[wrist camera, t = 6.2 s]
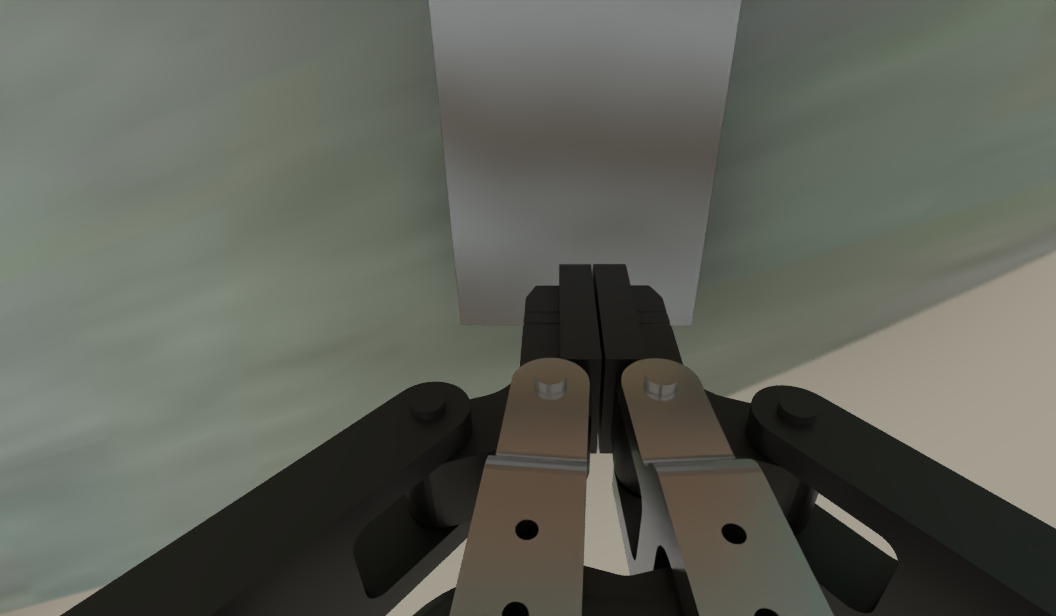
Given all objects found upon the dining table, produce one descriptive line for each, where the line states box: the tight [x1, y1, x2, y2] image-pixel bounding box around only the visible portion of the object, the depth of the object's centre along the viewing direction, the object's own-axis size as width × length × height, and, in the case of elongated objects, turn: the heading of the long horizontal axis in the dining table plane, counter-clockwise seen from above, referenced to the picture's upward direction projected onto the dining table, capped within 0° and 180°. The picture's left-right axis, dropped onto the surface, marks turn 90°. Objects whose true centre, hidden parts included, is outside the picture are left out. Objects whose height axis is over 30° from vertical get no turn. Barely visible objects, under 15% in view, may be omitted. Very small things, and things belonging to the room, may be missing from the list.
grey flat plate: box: [429, 0, 741, 326], centre depth 17 cm, size 14×8×2 cm, turn 1°
